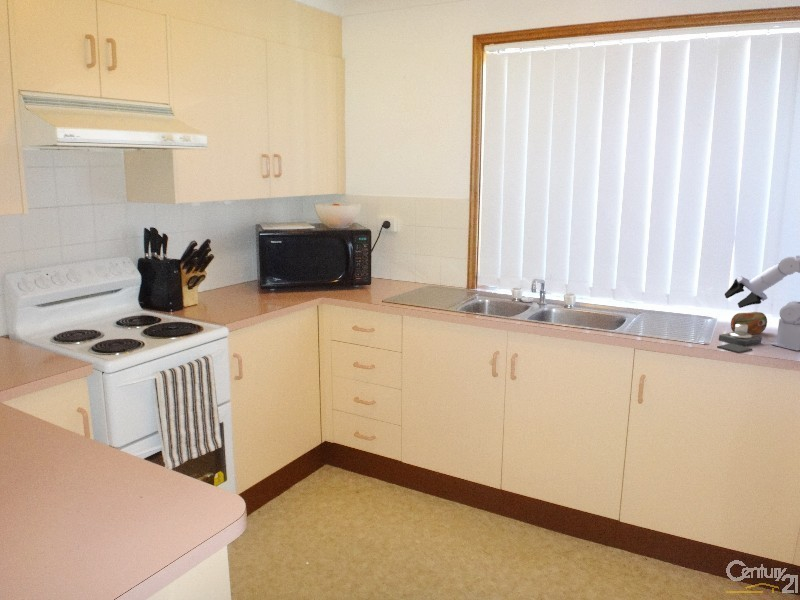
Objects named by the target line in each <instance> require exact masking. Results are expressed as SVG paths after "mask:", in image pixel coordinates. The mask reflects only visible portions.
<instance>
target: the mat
mask: <svg viewBox="0 0 800 600" xmlns="http://www.w3.org/2000/svg"><path fill="white" fill-rule="evenodd" d="M716 348H717V349H721V350H724V351H725V350H726V351H729V352H733V353H737V354H741V353H746V352H750V351H753V348H751V347H749V346H745V347H744V346H740V345H736V344H732V343H726V344H721V345H717V346H716Z"/></svg>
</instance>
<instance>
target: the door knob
mask: <svg viewBox="0 0 800 600" xmlns="http://www.w3.org/2000/svg"><path fill="white" fill-rule="evenodd" d="M747 329H748V325H746V324H736V325H735V332H733V331H731V332H729V333H730V334H729V335H730V336H731V337H734V338H740V339H750V338H752V336H753V334H748V333H747Z"/></svg>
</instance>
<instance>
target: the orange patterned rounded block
mask: <svg viewBox="0 0 800 600" xmlns="http://www.w3.org/2000/svg"><path fill="white" fill-rule="evenodd" d="M767 318H768V317H767V315H766V314H764V312H759V311H749V312H738V313H736V314H734V315H733V316H732V318H731V319H730V329H731V332H735V325H736V324H746V325H748V329H747V333H748V334H751V335H758V334H761V333H763V332H764V331H765V330H766V328H767V325H768V319H767Z"/></svg>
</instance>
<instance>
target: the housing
mask: <svg viewBox="0 0 800 600" xmlns="http://www.w3.org/2000/svg"><path fill="white" fill-rule="evenodd" d="M729 334H730V332H728V333H727V332H726V333H723V334H719V335H718V341H720V342H721V341H722V342H724V343H727V344H730V343H732V344H736V345H740V346H744V347H749V346H755V345H758V344H762V339H763V338H762V337H760V336H756V335H752V338H750V339H740V338H734V337H731V336H730V335H729Z"/></svg>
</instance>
